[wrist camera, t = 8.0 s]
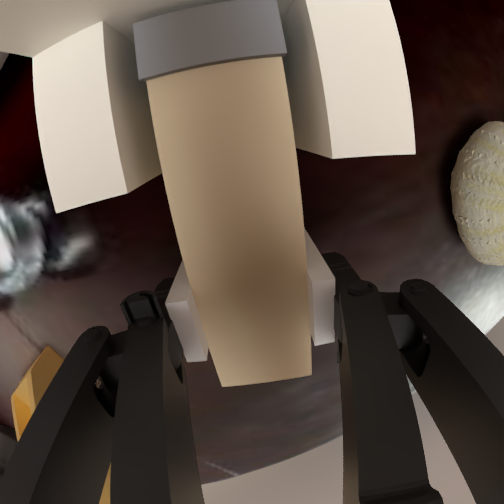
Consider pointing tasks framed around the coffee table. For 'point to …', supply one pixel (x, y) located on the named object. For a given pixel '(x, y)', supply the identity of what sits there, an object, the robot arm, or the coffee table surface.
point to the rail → (232, 181)
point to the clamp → (32, 393)
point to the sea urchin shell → (481, 194)
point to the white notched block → (137, 100)
